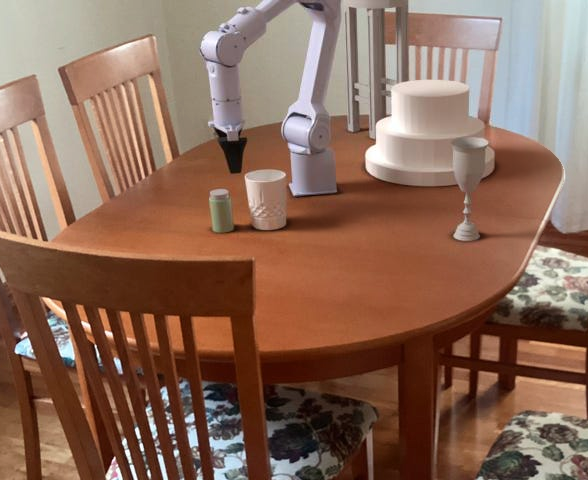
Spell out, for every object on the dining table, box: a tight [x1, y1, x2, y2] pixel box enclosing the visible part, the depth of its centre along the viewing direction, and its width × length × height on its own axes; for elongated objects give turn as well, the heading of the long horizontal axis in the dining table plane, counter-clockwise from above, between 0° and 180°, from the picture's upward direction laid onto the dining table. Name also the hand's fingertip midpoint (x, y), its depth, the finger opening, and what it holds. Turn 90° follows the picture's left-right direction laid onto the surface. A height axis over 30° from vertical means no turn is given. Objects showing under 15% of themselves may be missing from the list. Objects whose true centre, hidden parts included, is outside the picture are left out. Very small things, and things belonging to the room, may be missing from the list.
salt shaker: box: [208, 188, 235, 234], centre depth 179 cm, size 4×4×8 cm
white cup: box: [244, 168, 287, 231], centre depth 180 cm, size 8×8×10 cm
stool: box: [343, 0, 410, 140], centre depth 232 cm, size 16×16×35 cm
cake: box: [364, 79, 496, 187], centre depth 210 cm, size 30×30×18 cm
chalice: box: [451, 137, 490, 242], centre depth 172 cm, size 7×7×18 cm
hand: (233, 167), depth 184 cm, fingers open, 7 cm apart
